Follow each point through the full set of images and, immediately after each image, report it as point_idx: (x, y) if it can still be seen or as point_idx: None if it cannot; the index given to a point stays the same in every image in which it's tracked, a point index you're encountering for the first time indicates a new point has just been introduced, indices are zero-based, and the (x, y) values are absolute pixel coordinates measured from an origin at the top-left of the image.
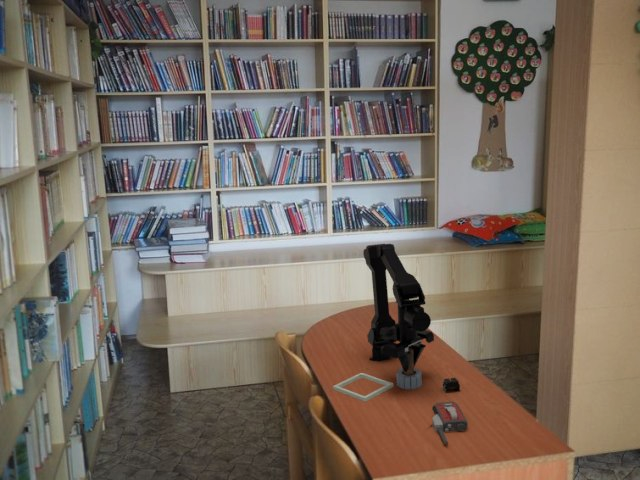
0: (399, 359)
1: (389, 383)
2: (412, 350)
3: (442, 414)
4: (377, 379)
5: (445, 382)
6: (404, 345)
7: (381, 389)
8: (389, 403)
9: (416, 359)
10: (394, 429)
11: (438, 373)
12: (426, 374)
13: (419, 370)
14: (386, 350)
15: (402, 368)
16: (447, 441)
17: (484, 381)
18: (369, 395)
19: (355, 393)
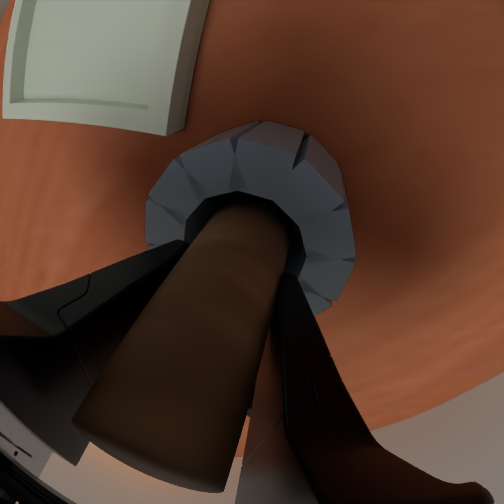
0: (65, 289)
1: (153, 111)
2: (171, 481)
3: None
4: (169, 6)
5: None
6: (5, 489)
7: (73, 120)
8: (67, 190)
9: (255, 396)
10: (13, 265)
11: (474, 295)
12: (462, 245)
13: (317, 311)
14: None
15: (306, 164)
16: None
17: (403, 417)
18: (19, 115)
19: (10, 54)
